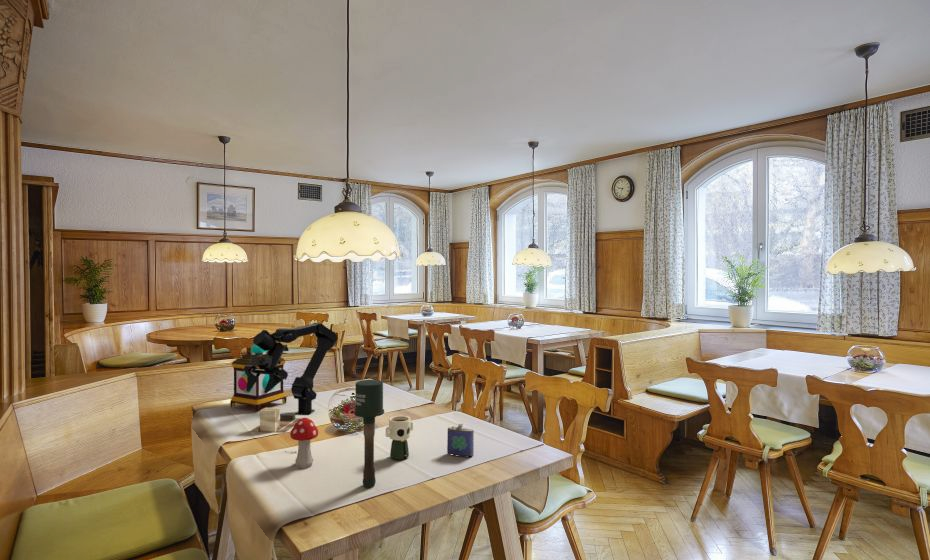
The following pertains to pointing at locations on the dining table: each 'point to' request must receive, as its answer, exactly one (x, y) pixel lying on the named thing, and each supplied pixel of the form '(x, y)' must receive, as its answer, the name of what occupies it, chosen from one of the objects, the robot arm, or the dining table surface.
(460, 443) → the flask
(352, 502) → the dining table surface
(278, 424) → the cream rectangular block
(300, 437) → the decorative mushroom
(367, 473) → the potato masher grenade
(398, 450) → the character mug
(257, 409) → the decorative lantern
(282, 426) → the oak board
